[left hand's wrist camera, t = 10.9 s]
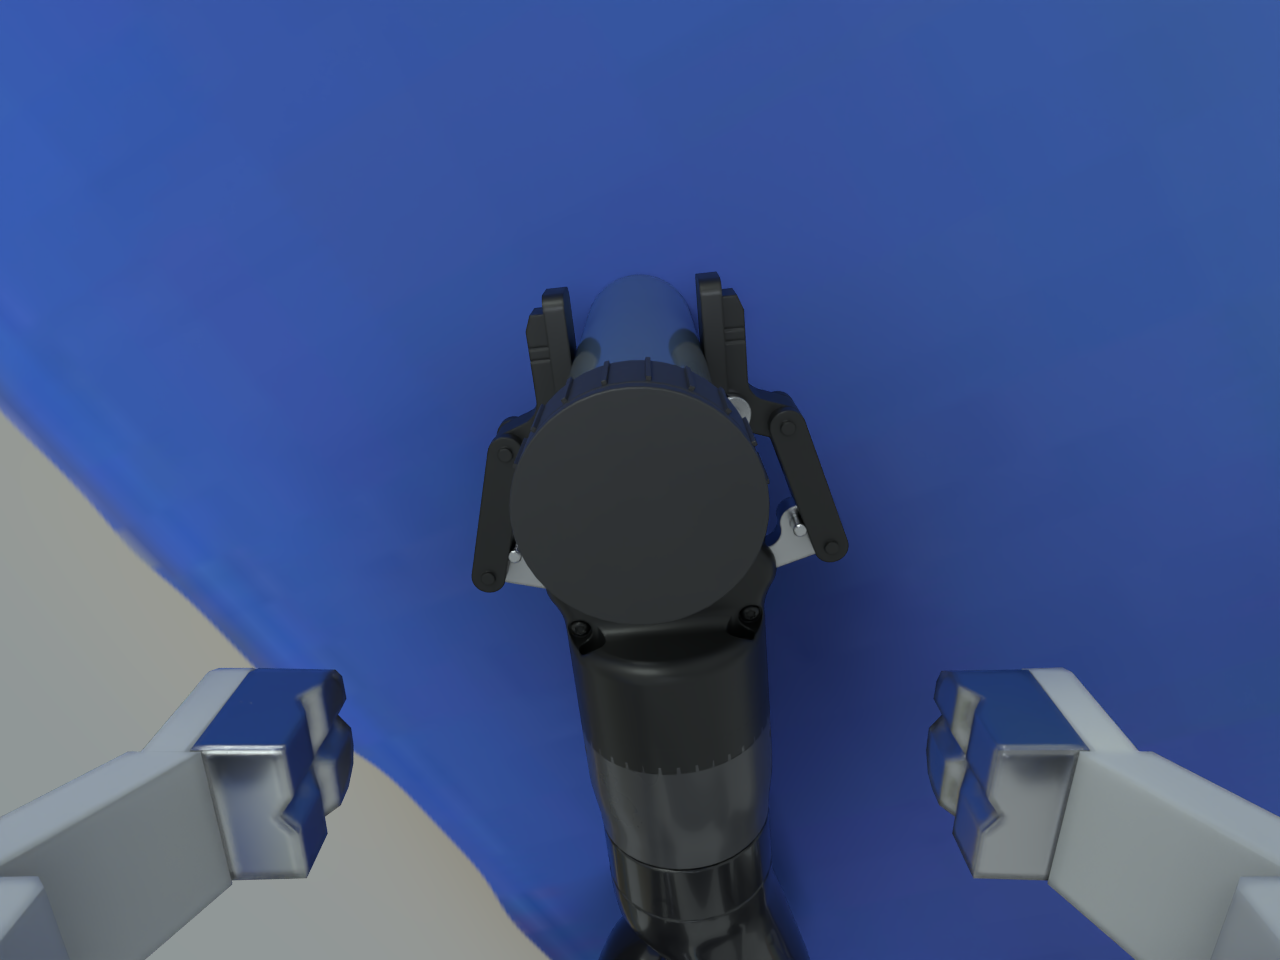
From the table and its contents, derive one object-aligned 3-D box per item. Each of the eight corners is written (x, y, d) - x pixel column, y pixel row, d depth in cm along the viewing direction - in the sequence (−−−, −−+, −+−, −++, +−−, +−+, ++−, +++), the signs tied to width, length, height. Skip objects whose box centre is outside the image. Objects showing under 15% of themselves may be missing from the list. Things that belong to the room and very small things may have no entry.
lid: (494, 540, 19) (477, 589, 17) (557, 322, 17) (546, 345, 15) (710, 602, 20) (718, 656, 18) (793, 398, 18) (813, 430, 16)
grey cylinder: (574, 361, 34) (509, 565, 17) (605, 260, 33) (566, 372, 16) (672, 392, 35) (703, 620, 18) (706, 293, 33) (777, 439, 16)
